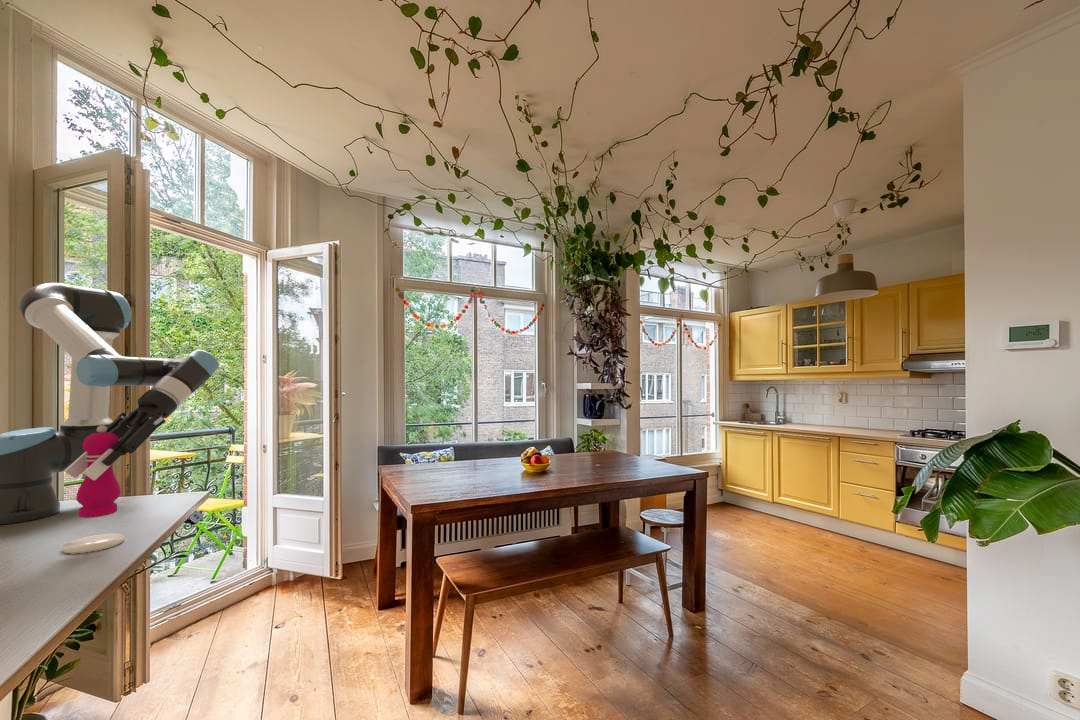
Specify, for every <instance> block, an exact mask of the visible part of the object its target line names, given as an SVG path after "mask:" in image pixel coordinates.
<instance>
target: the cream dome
mask: <svg viewBox="0 0 1080 720" xmlns="http://www.w3.org/2000/svg"><path fill="white" fill-rule="evenodd" d="M123 541H124V542H125V535H124V534H122V533H115V532H114V533H113V532H112V533H111V532H110V533H102V534H96V535H94V534H93V535H90V536H89V535H88V536H84V537H80V538H77V539H74V540H73V539H72V540H70V541H67V542H66V543H64V544H63V545H62V550H61V551H63V552H64V554H66V553H70V554H69V555H76V554H75V553H80V554H86V553H85V552H88V553H92V552H91V551H94V552H98V550H99V551H103V550H102V549H104V550H108V549H110V548H114V547H116V545H117V546H119V545H121V544H123V543H124V542H123ZM122 542H123V543H122ZM120 543H121V544H120ZM118 544H119V545H118ZM107 548H108V549H107ZM63 552H62V553H63Z"/></svg>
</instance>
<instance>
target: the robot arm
mask: <svg viewBox="0 0 1080 720" xmlns="http://www.w3.org/2000/svg"><path fill="white" fill-rule="evenodd" d="M131 309H132V308H131V306H130V304H129V301H128V300H127V299H126V297H125V296H123V295H122V294H121V293H119V292H116V291H111V290H106V289H101V288H95V287H87V286H80V285H74V284H66V283H62V282H44V283H41V284H37V285H35V286H32V287H30V288H28V289H27V290H26V291H24V293H22V295H21V296H20V298H19V301H18V311H19V313H20V315H21V316H22V318H23V319H24V320H25V322H26V323H27V322H28V324H29V325H30V326H32V327H34V328H36V329H40V330H42V331H43V332H44V333H45V334H46V335H48V336H49V338H51V339H52V340H53V341H54V342H55V343H56V344H57V345H58V346H59V347H60V348H62V349H63V351H64V352H65V353H67V354H68V355H69V357H70V358H71V366H70V367H71V368H70V369H71V370H70V381H69V382H70V385H69V398H68V415H67V416H68V417H67V419H65V420H63V422H61V423H60V424H59V425H60V428H59V430H58V431H57V430H56V428H54V427H51V426H47V427H46V426H45V427H43V426H42V427H34V428H32V427H31V428H24V429H17V430H13V431H7V432H3V433H0V525H7V524H8V525H9V524H15V523H23V522H28V521H33V520H38V519H43V518H47V517H50V516H52V515H55V514H56V515H57V514H58V513H59V512H60V511H61V503H60V500H58V496H57V492H56V491H55V488H54V485H53V475H54V474H55V473H62V472H64V473H66V474H67V475H69V476H71V477H72V478H74V479H77V478H78V477H79V476H80V475H82V474H83V475H85V476H88V477H89V478H91V479H92V480H96V479H97V478H98V477H99V476H100V475H101V474H102V473H103V472H105V471H106V470H107V469H108V468H109V467H110V466H111V465H112V464H114V463H115V462H117V460H118V459H120V457H122V456H125V455H126V454H128V453H129V454H134V453H135V452H136V451H137V449H138V448H140V446H141V445H142V444H143V443H144V442H145V441H146V440H147V439H148V438H149V437H150V436H152V435H153V433H154V432H155V431H156V430H157V429H158V428H159V427H161V426H162V425H164V424H165V423H166V420H165V419H167V418H169V417H170V416H171V415H172V414H173V413H175V411H176V410H177V409H178V407H179V406H181V405H182V404H183V403H185V402H187V399H188V398H190V397H191V395H192V394H194V393H195V392H196V391H197V390H198V389H199V388H200V387H201V386H203V384H205V382H207V380H209V379H210V378H211V377H212V376H213V375H214V373H215V372H216V371H217V370H218V369H219V368H220V364H219V361H218V359H217V358H216V357H215V356H214V355H213V354H211V353H210V352H208V351H207V350H203V349H195V350H193V351H192V352H190V353H188V354H187V356H185V357H178V358H166V357H165V358H163V357H161V358H160V357H159V358H158V357H141V356H140V357H137V356H123V355H121V354H120V353H119V352H117V351H116V350H115V348H113V343H114V341H113V340H114V339H115V338H117V337H118V336H120V334H121V330H124V329H126V328H127V327H128V326H129V323H130V322H131V318H132V310H131ZM126 386H127V387H129V386H131V387H134V386H135V387H137V386H138V387H141V386H142V387H148V386H149V387H150V389H148V390H147V391H146V392H144V393H143V394H142V395H141V396H139V398H137V405H138V407H137V408H136V409H134V410H132V411H131V412H130V413H128V414H127V413H125V412H124V411H123V412H121V413H120V414H119V415H118V416H117V417H116V418H115V419H114V420H112V419H111V418H110V417H109V411H110V410H109V408H110V407H109V406H110V393H111V392H110V391H111V387H126ZM101 425H104V426H106V427H107V431H106V432H109V433H113V434H115V435H116V436H117V437H118V439H119V442H118V443H117V444H115V445H111V447H112V448H113V449H114V450H112V449H108V450H107V451H106V452H105V453H104V454H103V455H102V456H100V457H99V458H98V459H97V460H96V461H95V462H94V463H93V464H92V465H91V466H89V467H88V462H86V461H85V460H86V457H85V456H86V455H88V453H87V452H86V451H85V450H84V449H83V442H84V440H85V438H86V437H88V436H89V435H91V434H94V433H98V432H97V427H99V426H101Z"/></svg>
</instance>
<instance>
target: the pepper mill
mask: <svg viewBox="0 0 1080 720" xmlns="http://www.w3.org/2000/svg"><path fill="white" fill-rule="evenodd" d="M106 431H107V427H106V426H104V425H101V426H99V427H97V432H98V433H94V434H91V435H89V436H88V437H86V438H85V440H84V442H83V449H84V450H85V451H86V452H87V453H88V455H86V456H85V457H86V460H85V461H86V462H88V467H89V466H91V465H92V464H93V463H94V462H95V461H96V460H97V459H98V458H99V457H100V456H102V455H103V454H104V453H105V452H106V451H107V450H108V449H112V450H114V449H113V448H112V447H111V445H115V444H117V443H118V442H119V439H118V437H117V436H116V435H115V434H113V433H109V432H106ZM113 464H114V463H113ZM113 464H112V465H111V466H110V467H109V468H108V469H107V470H106V471H105V472H103V473H102V474H101V475H100V476H99V477H98V478H97V479H96V480H92V479H91V478H89V477H88V476H86V475H85V476H84V479H83V481H82V483H81V484H80V486H79V488H78V490H77V493H76V496H75V497H76V498H75V499H76V501H77V502H78V504H79V505H81V506H82V507H79V509H78V518H82V519H91V518H99V517H104V516H110V515H112V514H115V513H116V512H118V503H117V502H115V501H116V500H117V499H119V497H120V495H121V485H120V483H119V481H118V479H117V478H116V475H115V472H114V468H113Z"/></svg>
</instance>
